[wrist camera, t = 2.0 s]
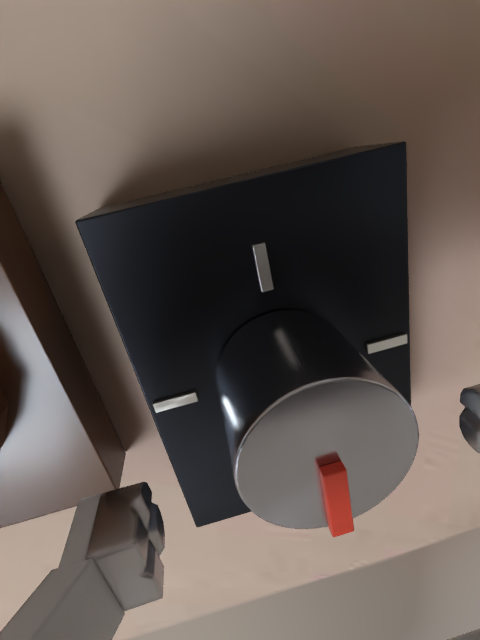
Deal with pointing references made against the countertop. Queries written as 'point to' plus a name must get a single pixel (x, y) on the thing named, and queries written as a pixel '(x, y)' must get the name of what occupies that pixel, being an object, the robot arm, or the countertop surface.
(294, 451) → the dial
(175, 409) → the dial panel
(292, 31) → the countertop surface
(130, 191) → the countertop surface
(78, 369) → the button box
